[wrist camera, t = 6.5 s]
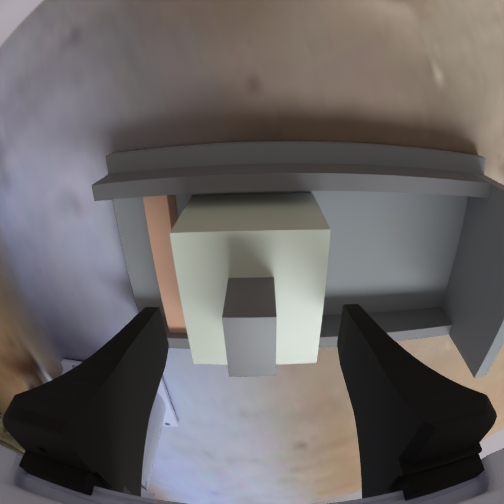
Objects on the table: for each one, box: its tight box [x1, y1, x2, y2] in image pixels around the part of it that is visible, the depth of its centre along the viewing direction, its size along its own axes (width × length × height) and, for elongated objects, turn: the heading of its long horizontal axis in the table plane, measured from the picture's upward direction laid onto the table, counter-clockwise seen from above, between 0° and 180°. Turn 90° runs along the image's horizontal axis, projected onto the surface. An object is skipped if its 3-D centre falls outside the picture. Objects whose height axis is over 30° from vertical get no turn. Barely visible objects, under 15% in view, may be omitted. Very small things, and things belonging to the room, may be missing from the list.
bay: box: [92, 141, 504, 378], centre depth 15 cm, size 21×12×7 cm, turn 92°
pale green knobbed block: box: [170, 193, 331, 377], centre depth 14 cm, size 6×7×7 cm
